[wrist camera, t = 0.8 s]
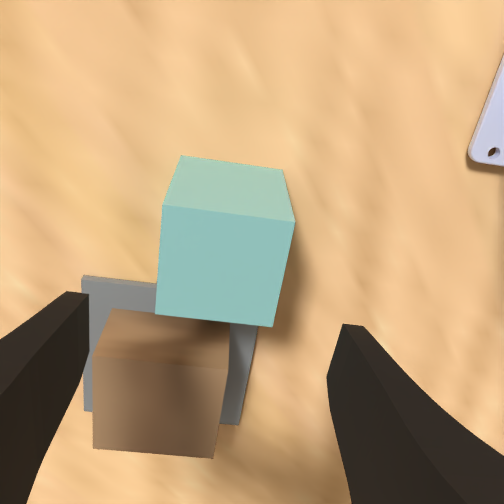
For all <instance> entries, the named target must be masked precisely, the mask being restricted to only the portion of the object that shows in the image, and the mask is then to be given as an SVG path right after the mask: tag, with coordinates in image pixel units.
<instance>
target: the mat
mask: <svg viewBox="0 0 504 504" xmlns="http://www.w3.org/2000/svg"><path fill="white" fill-rule="evenodd" d="M81 287H82V293H85V294H89V343H90V352H89V355H88V358H87V361H86V364H85V368H84V371H83V384H84V411H89V412H93V397H92V355H93V353H94V350H95V348H96V345H97V343H98V341H99V338H100V336H101V334H102V331H103V329H104V326H105V324H106V322H107V319H108V317H109V314H110V312H111V310H112V308H116V309H125V310H134V311H142V312H151V313H155V306H156V292H157V284H154V283H145V282H137V281H128V280H120V279H111V278H103V277H95V276H86V275H84V276H83V277H82V279H81ZM257 330H258V326H257V325H248V324H239V323H230V336H229V365H228V375H227V380H226V386H225V392H224V398H223V404H222V410H221V415H220V421H219V424H230V425H239V420H240V415H241V410H242V405H243V400H244V395H245V390H246V385H247V380H248V375H249V370H250V365H251V360H252V355H253V350H254V345H255V340H256V335H257Z"/></svg>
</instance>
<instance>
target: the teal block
mask: <svg viewBox="0 0 504 504" xmlns="http://www.w3.org/2000/svg"><path fill="white" fill-rule="evenodd" d="M294 226H295V219H294V215H293V211H292V207H291V203H290V199H289V195H288V191H287V187H286V183H285V179H284V174H283V170H280V169H273V168H266V167H259V166H252V165H245V164H238V163H231V162H225V161H218V160H211V159H204V158H197V157H190V156H183V155H181V157H180V160H179V162H178V165H177V168H176V170H175V173H174V175H173V178H172V181H171V183H170V186H169V189H168V191H167V194H166V197H165V199H164V202H163V205H162V219H161V234H160V248H159V263H158V277H157V292H156V306H155V314H158V315H167V316H176V317H185V318H194V319H203V320H212V321H221V322H230V323H239V324H248V325H257V326H266V327H273V322H274V318H275V313H276V309H277V304H278V299H279V295H280V290H281V286H282V281H283V277H284V272H285V267H286V263H287V258H288V254H289V249H290V244H291V240H292V235H293V231H294Z"/></svg>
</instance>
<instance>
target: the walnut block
mask: <svg viewBox="0 0 504 504" xmlns="http://www.w3.org/2000/svg"><path fill="white" fill-rule="evenodd" d="M229 336H230V322H221V321H212V320H203V319H194V318H185V317H176V316H167V315H158V314H155V313H151V312H142V311H134V310H125V309H116V308H112V310H111V312H110V314H109V317H108V319H107V322H106V324H105V326H104V329H103V331H102V334H101V336H100V338H99V341H98V343H97V345H96V348H95V350H94V353H93V355H92V397H93V449H105V450H117V451H129V452H140V453H152V454H164V455H175V456H187V457H199V458H211V459H213V456H214V450H215V444H216V439H217V433H218V427H219V421H220V415H221V410H222V404H223V398H224V392H225V386H226V380H227V375H228V365H229Z"/></svg>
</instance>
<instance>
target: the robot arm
mask: <svg viewBox="0 0 504 504" xmlns="http://www.w3.org/2000/svg"><path fill="white" fill-rule="evenodd" d="M494 147H495V148H496V152H495V153H494V154H493V155H492V156H489V157H488V152H489V150H490V149H492V148H494ZM468 156H469V157H470V158H471V159H472V160H473V161H475V162H478V163H484V164H491V165H497V166H504V55H503V58H502V60H501V63H500V66H499V68H498V71H497V74H496V76H495V79H494V81H493V84H492V87H491V89H490V92H489V95H488V97H487V100H486V103H485V105H484V108H483V111H482V113H481V116H480V118H479V121H478V124H477V126H476V129H475V132H474V134H473V137H472V140H471V142H470V145H469V148H468ZM89 352H90V343H89V294H85V293H77V292H68V291H66V292H65V293H63V294H62V295H61V296H59V297H58V298H57V299H55V300H54V301H53V302H51V303H50V304H49V305H47V306H46V307H45V308H43V309H42V310H41V311H39V312H38V313H37V314H35V315H34V316H33V317H31V318H30V319H29V320H27V321H26V322H24V323H23V324H22V325H20V326H19V327H17V328H16V329H15V330H13V331H12V332H10V333H9V334H8V335H6V336H5V337H3V338H1V339H0V504H26V503H27V500H28V497H29V495H30V492H31V489H32V486H33V484H34V481H35V478H36V475H37V473H38V470H39V468H40V466H41V463H42V461H43V459H44V456H45V454H46V452H47V450H48V448H49V446H50V444H51V442H52V439H53V437H54V435H55V433H56V431H57V429H58V427H59V425H60V423H61V421H62V419H63V417H64V415H65V412H66V410H67V408H68V406H69V404H70V402H71V400H72V398H73V396H74V394H75V391H76V389H77V387H78V385H79V382H80V379H81V377H82V374H83V371H84V368H85V364H86V361H87V358H88V355H89ZM327 388H328V398H329V406H330V412H331V416H332V420H333V424H334V429H335V433H336V437H337V441H338V445H339V449H340V453H341V457H342V461H343V465H344V469H345V473H346V477H347V481H348V486H349V491H350V496H351V502H352V504H504V456H503V455H502V454H500V453H499V452H497V451H496V450H495V449H493V448H492V447H490V446H489V445H488V444H486V443H485V442H483V441H482V440H481V439H479V438H478V437H477V436H475V435H474V434H473V433H471V432H470V431H469V430H468V429H466V428H465V427H464V426H463V425H461V424H460V423H459V422H458V421H457V420H455V419H454V418H453V417H452V416H451V415H449V414H448V413H447V412H446V411H445V410H443V409H442V408H441V407H440V406H439V405H438V404H437V403H436V402H435V401H434V400H432V399H431V398H430V397H429V396H428V395H427V394H426V393H425V392H424V391H423V390H422V389H421V388H420V387H419V386H418V385H417V384H416V383H415V382H414V381H413V380H412V379H411V378H410V377H409V376H408V375H407V374H406V373H405V372H404V370H403V369H402V368H401V367H400V366H399V365H398V364H397V363H396V362H395V361H394V360H393V359H392V357H391V356H390V355H389V354H388V353H387V352H386V351H385V350H384V348H383V347H382V346H381V345H380V344H379V343H378V342H377V341H376V339H375V338H374V337H373V336H372V335H371V334H370V333H369V332H368V331H367V329H366V328H365V327H364V326H358V325H350V324H343V325H342V328H341V331H340V334H339V338H338V341H337V344H336V347H335V351H334V354H333V357H332V360H331V364H330V367H329V370H328V373H327Z"/></svg>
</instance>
